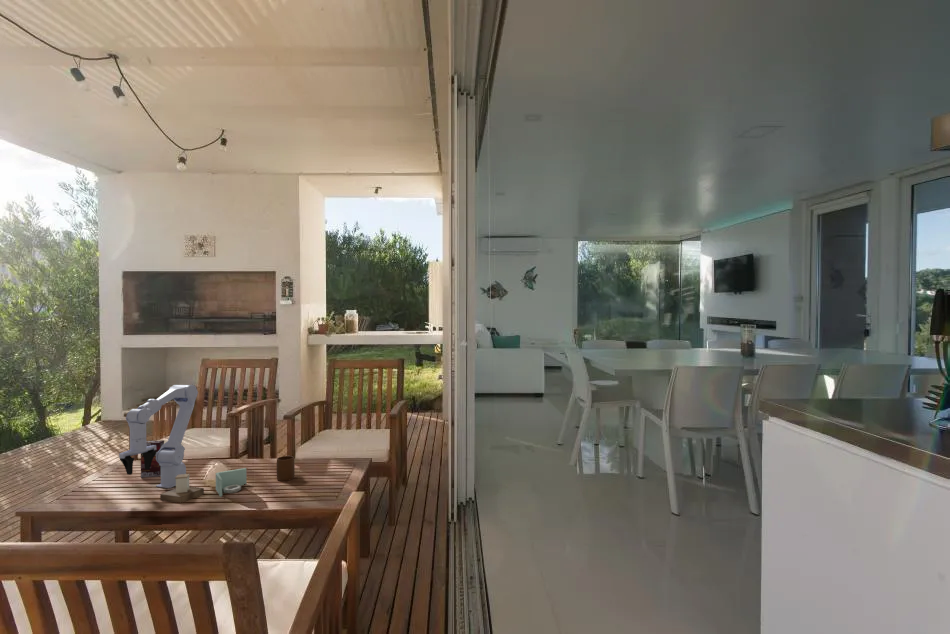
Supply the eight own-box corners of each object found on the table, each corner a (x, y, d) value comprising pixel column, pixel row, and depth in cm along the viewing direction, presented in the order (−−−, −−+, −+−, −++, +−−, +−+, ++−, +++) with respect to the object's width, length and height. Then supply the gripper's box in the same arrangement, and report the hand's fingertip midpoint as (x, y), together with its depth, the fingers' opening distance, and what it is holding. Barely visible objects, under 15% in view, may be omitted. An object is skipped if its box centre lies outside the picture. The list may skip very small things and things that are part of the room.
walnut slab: (184, 492, 221) (183, 485, 221) (203, 495, 217) (203, 488, 217) (160, 501, 210) (160, 494, 210) (180, 504, 207) (180, 496, 207)
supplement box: (140, 477, 241) (139, 443, 242) (144, 474, 246) (144, 441, 246) (160, 476, 243) (160, 442, 243) (164, 473, 248) (164, 439, 248)
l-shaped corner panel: (219, 498, 213) (219, 479, 213) (215, 490, 223) (215, 472, 223) (251, 492, 220) (251, 474, 220) (246, 485, 230) (245, 468, 230)
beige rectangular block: (178, 490, 215) (178, 474, 215) (189, 488, 216) (189, 473, 216) (175, 493, 211) (175, 477, 211) (187, 492, 212) (187, 476, 212)
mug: (282, 473, 244) (282, 453, 244) (299, 473, 245) (299, 453, 245) (274, 481, 232) (274, 460, 232) (291, 481, 233) (291, 459, 233)
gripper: (147, 434, 222) (148, 466, 222) (113, 441, 209) (114, 475, 209) (159, 435, 220) (160, 467, 220) (126, 442, 206) (126, 477, 206)
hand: (138, 471), depth 214 cm, fingers open, 7 cm apart
